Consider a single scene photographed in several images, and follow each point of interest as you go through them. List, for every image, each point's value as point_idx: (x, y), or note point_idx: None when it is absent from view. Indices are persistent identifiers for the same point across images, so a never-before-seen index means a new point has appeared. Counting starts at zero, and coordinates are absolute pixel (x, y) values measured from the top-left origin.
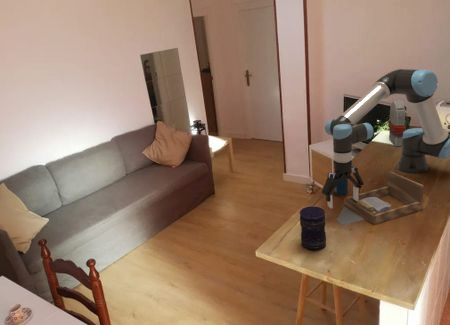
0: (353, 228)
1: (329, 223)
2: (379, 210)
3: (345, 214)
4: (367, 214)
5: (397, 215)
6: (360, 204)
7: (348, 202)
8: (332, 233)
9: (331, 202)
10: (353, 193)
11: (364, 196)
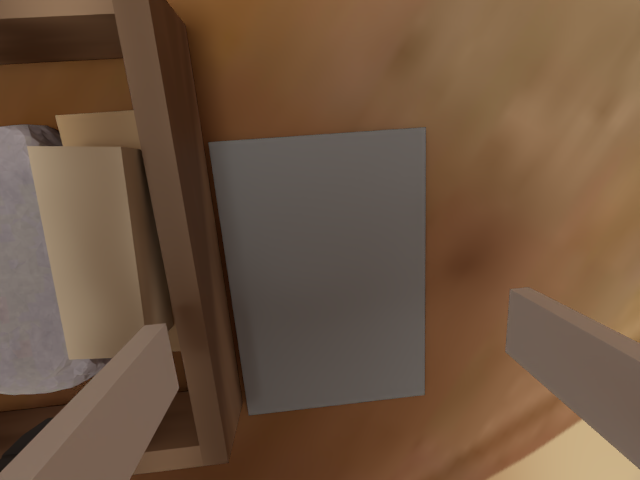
0: (377, 53)
1: (492, 213)
2: (3, 126)
3: (313, 278)
4: (175, 104)
5: None
6: (148, 285)
7: (223, 394)
8: (564, 64)
9: (596, 327)
10: (140, 452)
11: None
